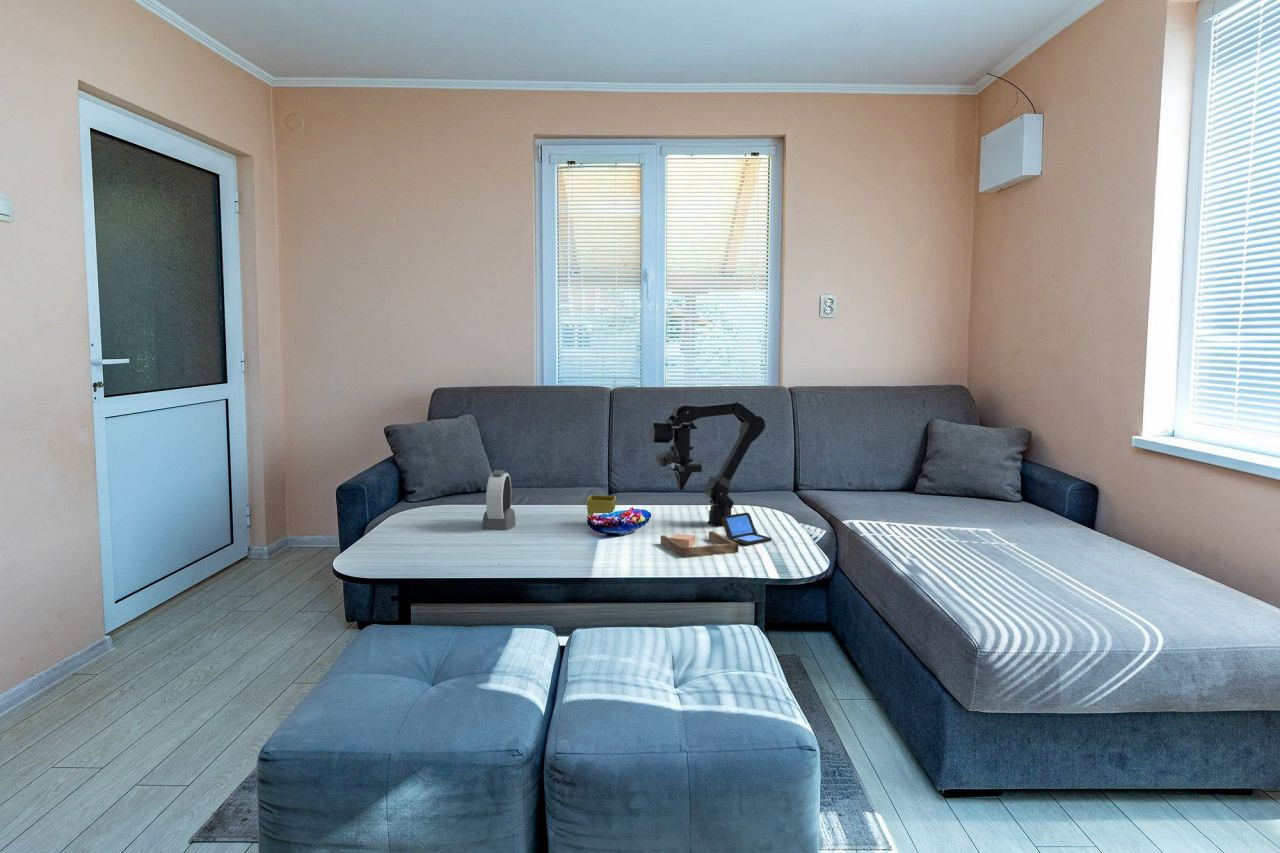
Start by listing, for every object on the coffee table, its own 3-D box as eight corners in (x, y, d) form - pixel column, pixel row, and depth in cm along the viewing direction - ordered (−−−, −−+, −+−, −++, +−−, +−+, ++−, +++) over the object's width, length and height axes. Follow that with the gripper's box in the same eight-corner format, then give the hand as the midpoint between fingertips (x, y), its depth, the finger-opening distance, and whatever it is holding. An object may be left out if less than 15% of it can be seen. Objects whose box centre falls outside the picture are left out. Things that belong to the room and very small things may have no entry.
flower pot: (616, 522, 262) (616, 495, 261) (612, 528, 253) (613, 500, 252) (590, 521, 263) (590, 494, 262) (585, 527, 254) (586, 499, 253)
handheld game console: (744, 547, 232) (745, 523, 232) (719, 540, 241) (720, 516, 240) (773, 541, 240) (774, 517, 239) (747, 534, 249) (748, 511, 248)
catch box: (712, 539, 241) (712, 531, 240) (738, 552, 226) (738, 543, 225) (660, 543, 234) (660, 535, 234) (684, 557, 219) (684, 548, 219)
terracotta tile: (695, 545, 234) (695, 535, 234) (688, 550, 229) (689, 539, 228) (676, 543, 237) (676, 533, 236) (669, 547, 231) (669, 537, 231)
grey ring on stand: (510, 532, 246) (510, 474, 244) (477, 531, 246) (477, 474, 244) (519, 520, 262) (519, 466, 260) (488, 519, 262) (488, 466, 260)
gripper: (647, 440, 261) (647, 486, 262) (671, 447, 243) (670, 496, 245) (678, 439, 265) (677, 484, 266) (703, 446, 248) (702, 494, 249)
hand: (680, 490), depth 257 cm, fingers closed
